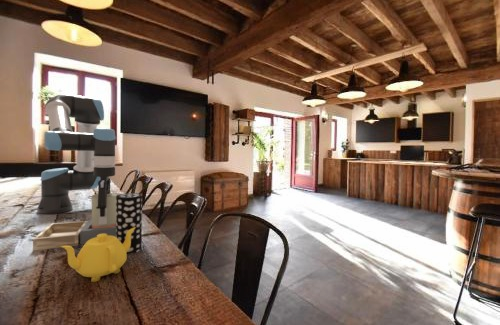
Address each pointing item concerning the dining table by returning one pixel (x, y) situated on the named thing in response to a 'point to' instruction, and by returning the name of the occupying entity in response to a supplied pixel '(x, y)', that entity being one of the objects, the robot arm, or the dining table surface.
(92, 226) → the pad
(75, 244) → the wooden tray
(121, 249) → the teapot
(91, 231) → the grey square tray
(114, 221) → the can
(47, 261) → the dining table surface
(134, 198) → the spotted tube
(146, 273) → the dining table surface
